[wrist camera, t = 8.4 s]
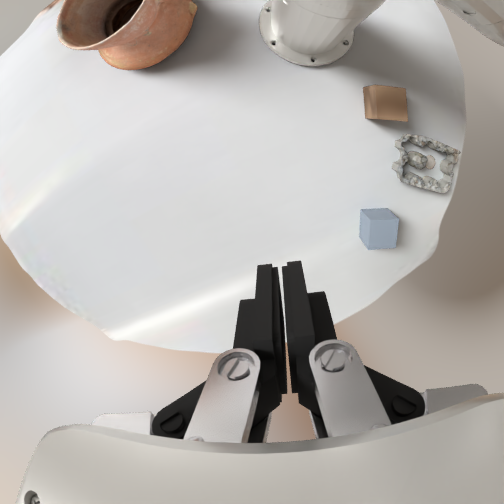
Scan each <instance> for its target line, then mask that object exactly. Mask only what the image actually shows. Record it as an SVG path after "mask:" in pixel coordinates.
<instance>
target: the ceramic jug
mask: <svg viewBox="0 0 504 504" xmlns="http://www.w3.org/2000/svg"><path fill="white" fill-rule="evenodd" d="M196 11H197V6H196V4H195V3H193V2H192V0H65V1H64V3H63V5H62V7H61V10H60V13H59V15H58V19H57V26H56V28H57V33H58V37H59V41H60V42H61V43H62V44H63V45H64V46H66V47H68V48H71V49H75V50H99V53H100V55H101V57H102V58H103V59H104V60H105V61H106V62H107V63H108V64H109V65H111V66H113V67H115V68H118V69H123V70H137V69H143V68H146V67H150V66H152V65H155V64H157V63H159V62H161V61H162V60H164V59H165V58H166V57H168V56H169V55H170V54H172V53H173V52H174V51H176V50H177V49H178V48H179V47H180V45H181V44H182V43H183V42H184V40H185V39H186V37H187V36H188V34H189V32H190V29H191V27H192V23H193V19H194V16H195V13H196Z"/></svg>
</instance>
